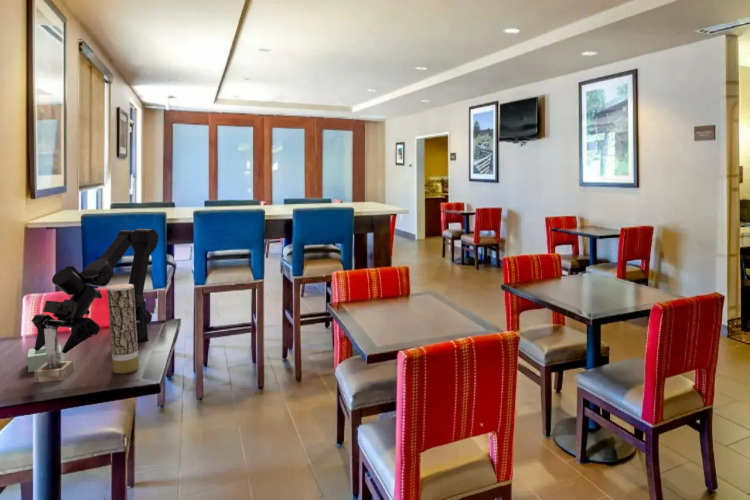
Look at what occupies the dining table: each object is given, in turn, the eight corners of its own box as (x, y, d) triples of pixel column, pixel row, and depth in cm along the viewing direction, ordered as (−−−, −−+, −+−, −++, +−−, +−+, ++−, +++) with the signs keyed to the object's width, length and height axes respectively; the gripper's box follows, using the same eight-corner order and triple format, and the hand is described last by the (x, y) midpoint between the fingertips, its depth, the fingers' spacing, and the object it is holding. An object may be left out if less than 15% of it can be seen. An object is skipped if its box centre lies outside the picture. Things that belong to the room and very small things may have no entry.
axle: (61, 373, 136) (57, 326, 134) (61, 377, 134) (56, 328, 132) (48, 375, 134) (44, 327, 133) (48, 379, 132) (43, 330, 130)
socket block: (62, 358, 148) (60, 344, 147) (61, 366, 141) (60, 352, 140) (30, 363, 144) (29, 349, 143) (28, 372, 137) (27, 357, 136)
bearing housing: (73, 370, 138) (72, 360, 138) (63, 380, 131) (62, 369, 131) (46, 372, 137) (45, 362, 136) (34, 382, 130) (33, 371, 129)
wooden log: (121, 376, 134) (115, 289, 131) (108, 371, 138) (102, 287, 134) (144, 368, 140) (138, 285, 136) (130, 364, 143) (125, 283, 140)
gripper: (34, 287, 137) (0, 335, 128) (89, 290, 133) (58, 340, 124) (60, 307, 146) (30, 353, 137) (112, 310, 142) (84, 359, 132)
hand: (49, 351), depth 132 cm, fingers open, 9 cm apart
